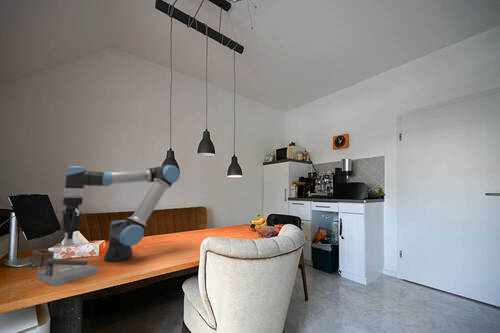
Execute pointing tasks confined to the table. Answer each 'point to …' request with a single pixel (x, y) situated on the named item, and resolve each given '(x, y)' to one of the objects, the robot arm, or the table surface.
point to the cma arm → (65, 262)
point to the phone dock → (41, 257)
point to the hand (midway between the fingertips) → (67, 245)
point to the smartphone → (34, 267)
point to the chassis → (65, 273)
